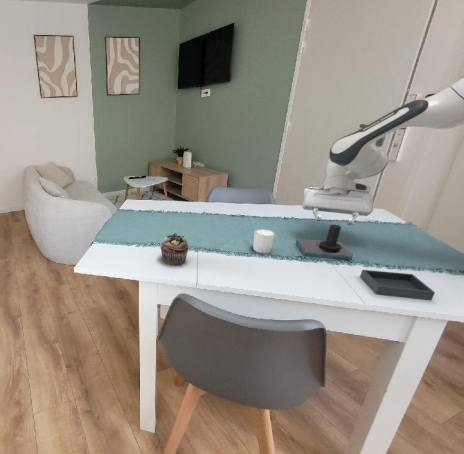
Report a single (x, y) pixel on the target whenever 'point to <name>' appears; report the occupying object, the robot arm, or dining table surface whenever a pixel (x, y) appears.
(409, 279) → the dark grey tray
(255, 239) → the white cylinder
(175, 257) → the cupcake
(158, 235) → the dining table surface
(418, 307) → the dining table surface
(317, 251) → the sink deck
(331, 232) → the plug
